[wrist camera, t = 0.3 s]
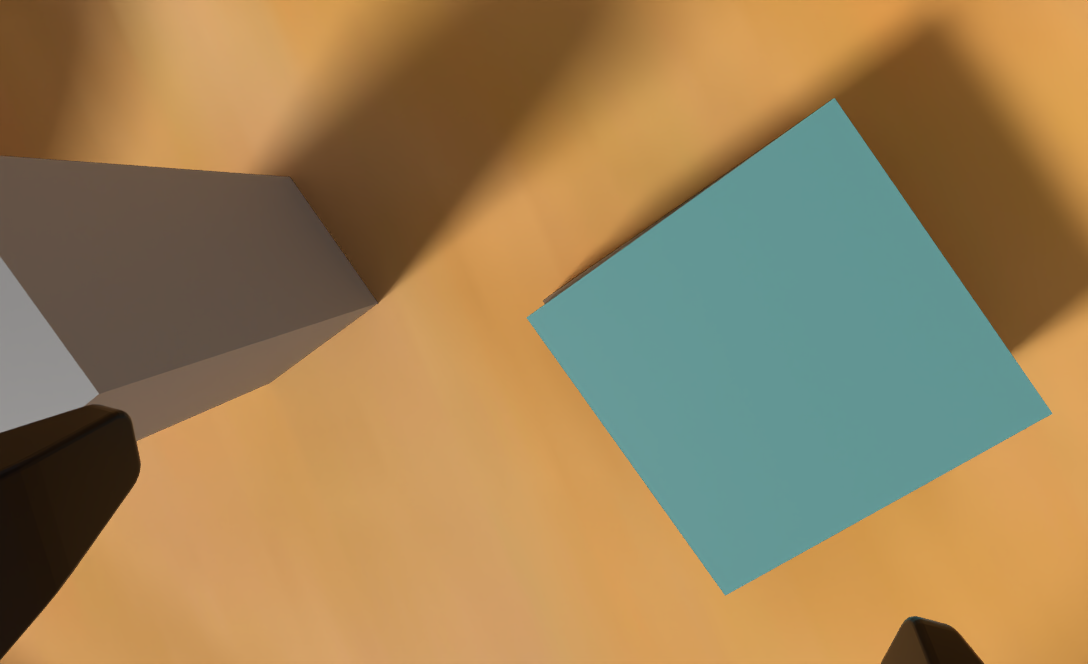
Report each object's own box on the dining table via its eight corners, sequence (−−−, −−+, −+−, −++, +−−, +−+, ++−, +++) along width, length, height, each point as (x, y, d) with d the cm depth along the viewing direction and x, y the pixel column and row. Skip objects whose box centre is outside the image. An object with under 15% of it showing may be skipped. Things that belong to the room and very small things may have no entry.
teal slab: (720, 553, 22) (725, 595, 19) (542, 305, 21) (526, 317, 19) (1007, 389, 20) (1052, 413, 17) (815, 111, 19) (834, 97, 17)
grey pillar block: (269, 382, 25) (-78, 533, 14) (184, 263, 25) (-241, 313, 14) (377, 303, 24) (98, 394, 13) (289, 177, 24) (-77, 149, 12)
